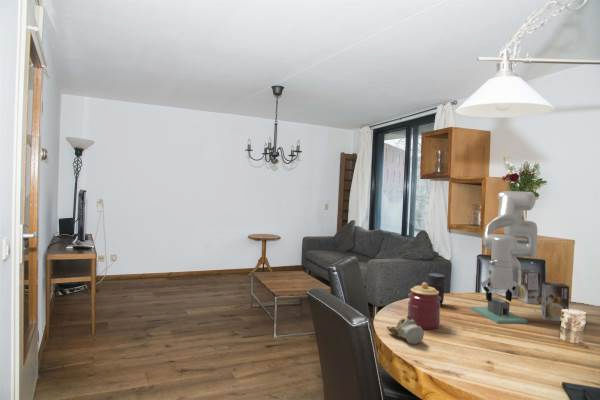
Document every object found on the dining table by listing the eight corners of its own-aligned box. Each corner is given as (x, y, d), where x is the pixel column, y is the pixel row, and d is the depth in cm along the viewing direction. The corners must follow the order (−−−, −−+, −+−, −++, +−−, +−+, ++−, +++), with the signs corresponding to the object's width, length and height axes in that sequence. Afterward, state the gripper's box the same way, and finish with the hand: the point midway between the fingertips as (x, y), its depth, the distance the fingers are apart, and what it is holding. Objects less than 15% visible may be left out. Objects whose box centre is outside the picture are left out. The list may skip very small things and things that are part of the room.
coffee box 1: (539, 304, 197) (541, 273, 197) (526, 303, 197) (528, 272, 197) (529, 299, 206) (530, 269, 206) (517, 298, 206) (518, 269, 206)
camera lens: (426, 305, 186) (427, 275, 186) (425, 301, 194) (427, 272, 194) (444, 308, 184) (445, 277, 184) (442, 303, 192) (444, 273, 192)
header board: (471, 309, 184) (471, 300, 184) (498, 309, 186) (498, 300, 186) (497, 323, 164) (497, 313, 164) (527, 323, 166) (527, 313, 166)
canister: (403, 326, 156) (405, 283, 156) (410, 317, 168) (412, 277, 167) (437, 332, 150) (439, 287, 150) (441, 323, 162) (443, 281, 161)
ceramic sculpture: (405, 322, 134) (385, 311, 148) (405, 347, 134) (385, 334, 148) (432, 321, 137) (410, 311, 151) (432, 345, 136) (409, 333, 151)
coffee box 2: (563, 318, 175) (564, 283, 174) (568, 322, 168) (570, 286, 168) (540, 315, 177) (541, 281, 177) (544, 320, 171) (546, 284, 171)
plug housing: (487, 309, 179) (488, 296, 179) (496, 309, 180) (496, 297, 180) (499, 316, 170) (500, 302, 170) (508, 316, 171) (509, 302, 171)
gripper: (487, 265, 170) (486, 303, 171) (523, 265, 172) (521, 302, 173) (477, 262, 177) (476, 298, 178) (512, 261, 179) (510, 297, 180)
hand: (498, 300), depth 175 cm, fingers open, 9 cm apart
